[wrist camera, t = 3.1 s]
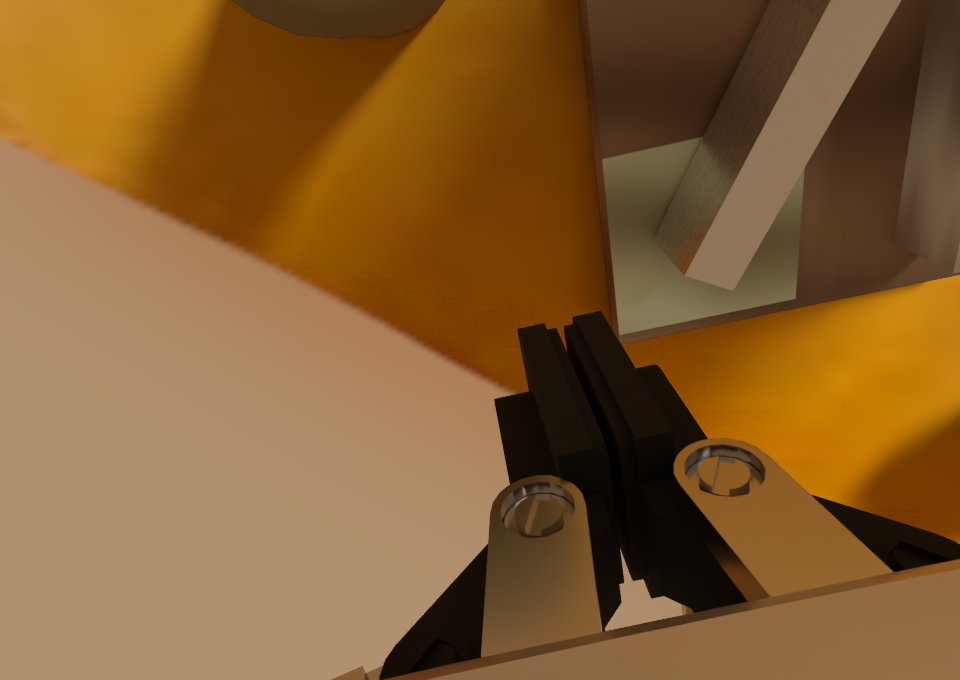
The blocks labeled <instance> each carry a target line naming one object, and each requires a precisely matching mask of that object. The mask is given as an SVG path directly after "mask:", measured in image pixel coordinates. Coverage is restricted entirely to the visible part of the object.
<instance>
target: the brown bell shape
mask: <svg viewBox="0 0 960 680" xmlns="http://www.w3.org/2000/svg"><path fill="white" fill-rule="evenodd" d="M233 1H234V2H235V3H237V4H238V5H239V6H240V7H242V8H243V9H244V10H245V11H246V12H248V13H249V14H250V15H251V16H253V17H256V18H258V19H260V20H263V21H265V22H267V23H270V24H272V25H275V26H277V27H279V28H282V29H284V30H287V31H289V32H291V33H294V34H296V35H302V36H315V37H329V38H342V39H344V38H347V37H351V36H366V37H380V38H385V37H389V36H392V35H396V34H399V33H403V32H406V31H410V30H413V29H414V28H415V27H417V26H418V25H420V24H421V23H422V22H424V21H425V20H426V19H428V18H429V17H431V16H432V15H433V14H435V13H436V12H437V11H438V9H439V8H440V7H441V5H442V4H443V2H444V1H445V0H233Z"/></svg>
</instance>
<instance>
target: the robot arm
mask: <svg viewBox="0 0 960 680" xmlns="http://www.w3.org/2000/svg"><path fill="white" fill-rule="evenodd" d="M564 334H565V340H566V347H567V351H566V349H565V347H564V344H563V342H562V340H561V338H560V335H559V333H558V331H557V329H556V328H553V329H548V330H547V329H546V326H545V324H544V323H543V324H538V325H533V326H529V327H524V328H520V329H518V336H519V341H520V347H521V352H522V357H523V362H524V367H525V372H526V378H527V383H528V388H529V392H524V393H520V394H515V395H511V396H506V397H501V398H497V399H494V401H495V407H496V412H497V417H498V423H499V428H500V433H501V439H502V444H503V449H504V455H505V460H506V466H507V471H508V476H509V481H510V485H509V486H508V487H506V488H505V489H504V490H502V491H501V492H500V493H499V495H498V496H497V498H496V499H495V500H494V502H493V505H492V509H491V512H490V526H489V541H488V542H489V543H488V544H487V546H485V548H484V549H483V550H482V551H481V552H480V553H479V554H478V555H477V556H476V557H475V559H474V560H473V561H472V562H471V563H470V564H469V565H468V566H467V567H466V568H465V570H464V571H463V572H462V573H461V574H460V575H459V576H458V577H457V579H455V581H454V582H453V583H452V584H451V585H450V586H449V587H448V588H447V589H446V590H445V592H444V593H443V594H442V595H441V596H440V597H439V598H438V599H437V600H436V602H435V603H434V604H433V605H432V606H431V607H430V608H429V609H428V610H427V611H426V612H425V614H424V615H423V616H422V617H421V618H420V619H419V620H418V621H417V622H416V623H415V625H414V626H413V627H412V628H411V629H410V630H409V631H408V632H407V633H406V634H405V636H404V637H403V638H402V639H401V640H400V641H399V642H398V643H397V644H396V645H395V647H394V648H393V650H392V651H391V653H390V654H389V655H388V657H387V658H386V660H385V662H384V665H383V666H382V667H379V668H377V669H375V670H372V671H370V672H368V673H366V672H365V670H364V668H363V666H362V667H359V668H357V669H355V670H353V671H350V672H348V673H346V674H344V675H341V676H339V677H337V678H334V679H332V680H960V544H958V543H956V542H955V541H952V540H950V539H947V538H945V537H942V536H940V535H938V534H935V533H932V532H929V531H925V530H922V529H919V528H916V527H913V526H910V525H906V524H903V523H900V522H897V521H894V520H890V519H887V518H884V517H881V516H878V515H874V514H871V513H868V512H865V511H862V510H858V509H855V508H852V507H849V506H846V505H843V504H839V503H836V502H833V501H830V500H827V499H823V498H820V497H817V496H814V495H811V494H809V493H808V492H807V491H806V490H805V489H804V488H803V487H802V486H801V485H800V484H799V483H797V482H796V481H795V480H794V479H793V478H792V477H791V476H790V475H789V474H788V473H787V472H786V471H785V470H783V469H782V468H781V467H780V466H779V465H778V464H777V463H776V462H775V461H774V460H773V459H772V458H771V457H769V456H768V455H767V454H766V453H764V452H763V451H762V450H760V449H759V448H757V447H756V446H753V445H751V444H748V443H746V442H743V441H739V440H734V439H728V438H711V439H708V438H707V437H706V435H705V434H704V432H703V431H702V429H701V428H700V426H699V425H698V423H697V422H696V420H695V419H694V418H693V416H692V415H691V413H690V412H689V410H688V409H687V407H686V406H685V404H684V403H683V401H682V400H681V398H680V397H679V395H678V394H677V392H676V391H675V389H674V388H673V387H672V385H671V384H670V382H669V381H668V379H667V378H666V376H665V375H664V373H663V372H662V370H661V369H660V368H659V367H658V366H657V365H650V366H645V367H641V368H635V367H634V365H633V363H632V362H631V360H630V358H629V357H628V355H627V353H626V352H625V350H624V348H623V347H622V345H621V343H620V342H619V340H618V338H617V337H616V335H615V334H614V332H613V330H612V329H611V327H610V325H609V324H608V322H607V320H606V319H605V317H604V315H603V314H602V312H601V311H598V312H593V313H589V314H584V315H579V316H575V317H573V324H571V325H567V326H564ZM620 549H621V551H622V554H623V557H624V559H625V562H626V565H627V567H628V570H629V573H630V575H631V578H632V579H633V581H636V580H641V579H644V581H645V584H646V586H647V589H648V592H649V594H650V597H651V598H656V597H661V596H665V597H667V598H669V599H672V600H674V601H676V602H678V603H680V604H682V613H683V615H682V616H677V617H672V618H667V619H662V620H657V621H653V622H648V623H643V624H638V625H633V626H629V627H624V628H619V629H614V630H609V631H605V627H606V625H607V624H608V622H609V621H610V619H611V618H612V616H613V615H614V613H615V612H616V610H617V609H618V607H619V606H620V604H621V594H620V587H619V584H621V583H624V578H623V577H624V576H623V569H622V560H621V552H620Z"/></svg>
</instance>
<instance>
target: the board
mask: <svg viewBox="0 0 960 680" xmlns="http://www.w3.org/2000/svg"><path fill="white" fill-rule="evenodd" d="M769 2H770V0H578V4H579V13H580V23H581V33H582V42H583V52H584V62H585V72H586V81H587V91H588V101H589V110H590V120H591V130H592V140H593V149H594V159H595V169H596V179H597V188H598V198H599V208H600V217H601V227H602V237H603V247H604V256H605V266H606V276H607V285H608V295H609V305H610V315H611V324H612V330H613V332H614V334H615V335H616V337H617V338H618V340H619V342H620V343H621V344H625V343H630V342H635V341H640V340H645V339H650V338H654V337H659V336H664V335H669V334H674V333H679V332H684V331H688V330H693V329H698V328H703V327H708V326H713V325H718V324H722V323H727V322H732V321H737V320H742V319H747V318H752V317H756V316H761V315H766V314H771V313H776V312H781V311H786V310H790V309H795V308H800V307H805V306H810V305H815V304H820V303H825V302H829V301H834V300H839V299H844V298H849V297H854V296H859V295H863V294H868V293H873V292H878V291H883V290H888V289H893V288H897V287H902V286H907V285H912V284H917V283H922V282H927V281H931V280H936V279H941V278H946V277H951V276H956V275H960V0H901V2H900V3H899V5H898V7H897V9H896V10H895V12H894V14H893V16H892V17H891V19H890V21H889V22H888V24H887V26H886V28H885V29H884V31H883V33H882V35H881V36H880V38H879V40H878V42H877V43H876V45H875V47H874V48H873V50H872V52H871V54H870V55H869V57H868V59H867V61H866V62H865V64H864V66H863V67H862V69H861V71H860V73H859V74H858V76H857V78H856V80H855V81H854V83H853V85H852V86H851V88H850V90H849V92H848V93H847V95H846V97H845V99H844V100H843V102H842V104H841V105H840V107H839V109H838V111H837V112H836V114H835V116H834V118H833V119H832V121H831V123H830V124H829V126H828V128H827V130H826V131H825V133H824V135H823V137H822V138H821V140H820V142H819V144H818V145H817V147H816V149H815V150H814V152H813V154H812V156H811V157H810V159H809V161H808V163H807V164H806V166H805V168H804V169H803V171H802V173H801V175H800V176H799V178H798V180H797V182H796V183H795V185H794V187H793V188H792V190H791V192H790V194H789V195H788V197H787V199H786V201H785V202H784V204H783V206H782V207H781V209H780V211H779V213H778V214H777V216H776V218H775V220H774V221H773V223H772V225H771V226H770V228H769V230H768V232H767V233H766V235H765V237H764V239H763V240H762V242H761V244H760V245H759V247H758V249H757V251H756V252H755V254H754V256H753V258H752V259H751V261H750V263H749V265H748V266H747V268H746V270H745V271H744V273H743V275H742V277H741V278H740V280H739V282H738V284H737V285H736V287H735V289H734V290H733V291H732V290H729V289H726V288H722V287H719V286H716V285H713V284H710V283H706V282H703V281H700V280H697V279H693V278H690V277H687V276H684V275H683V274H682V272H681V271H680V270H679V269H678V268H677V267H676V266H675V265H674V264H673V263H672V262H671V261H670V259H669V258H668V257H667V256H666V255H665V254H664V253H663V252H662V251H661V250H660V249H659V247H658V246H657V245H656V244H655V243H654V242H653V239H654V237H655V235H656V233H657V231H658V229H659V227H660V225H661V223H662V221H663V219H664V217H665V214H666V212H667V210H668V208H669V206H670V204H671V202H672V200H673V198H674V196H675V194H676V192H677V190H678V188H679V186H680V184H681V182H682V180H683V178H684V176H685V174H686V172H687V170H688V168H689V166H690V164H691V161H692V159H693V157H694V155H695V153H696V151H697V149H698V147H699V145H700V143H701V141H702V139H703V137H704V135H705V133H706V131H707V129H708V127H709V125H710V123H711V121H712V119H713V117H714V115H715V113H716V110H717V108H718V106H719V104H720V102H721V100H722V98H723V96H724V94H725V92H726V90H727V88H728V86H729V84H730V82H731V80H732V78H733V76H734V74H735V72H736V70H737V68H738V66H739V64H740V62H741V60H742V57H743V55H744V53H745V51H746V49H747V47H748V45H749V43H750V41H751V39H752V37H753V35H754V33H755V31H756V29H757V27H758V25H759V23H760V21H761V19H762V17H763V15H764V13H765V11H766V9H767V6H768V4H769Z"/></svg>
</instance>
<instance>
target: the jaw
mask: <svg viewBox="0 0 960 680" xmlns="http://www.w3.org/2000/svg"><path fill="white" fill-rule="evenodd" d="M900 2H901V0H770V2H769V4H768V6H767V9H766V11H765V13H764V15H763V17H762V19H761V21H760V23H759V25H758V27H757V29H756V31H755V33H754V35H753V37H752V39H751V41H750V43H749V45H748V47H747V49H746V51H745V53H744V55H743V57H742V60H741V62H740V64H739V66H738V68H737V70H736V72H735V74H734V76H733V78H732V80H731V82H730V84H729V86H728V88H727V90H726V92H725V94H724V96H723V98H722V100H721V102H720V104H719V106H718V108H717V110H716V113H715V115H714V117H713V119H712V121H711V123H710V125H709V127H708V129H707V131H706V133H705V135H704V137H703V139H702V141H701V143H700V145H699V147H698V149H697V151H696V153H695V155H694V157H693V159H692V161H691V164H690V166H689V168H688V170H687V172H686V174H685V176H684V178H683V180H682V182H681V184H680V186H679V188H678V190H677V192H676V194H675V196H674V198H673V200H672V202H671V204H670V206H669V208H668V210H667V212H666V214H665V217H664V219H663V221H662V223H661V225H660V227H659V229H658V231H657V233H656V235H655V237H654V239H653V242H654V243H655V244H656V245H657V246H658V247H659V249H660V250H661V251H662V252H663V253H664V254H665V255H666V256H667V257H668V258H669V259H670V261H671V262H672V263H673V264H674V265H675V266H676V267H677V268H678V269H679V270H680V271H681V272H682V274H683V275H684V276H687V277H690V278H693V279H697V280H700V281H703V282H706V283H710V284H713V285H716V286H719V287H722V288H726V289H729V290H732V291H733V290H734V289H735V287H736V285H737V284H738V282H739V280H740V278H741V277H742V275H743V273H744V271H745V270H746V268H747V266H748V265H749V263H750V261H751V259H752V258H753V256H754V254H755V252H756V251H757V249H758V247H759V245H760V244H761V242H762V240H763V239H764V237H765V235H766V233H767V232H768V230H769V228H770V226H771V225H772V223H773V221H774V220H775V218H776V216H777V214H778V213H779V211H780V209H781V207H782V206H783V204H784V202H785V201H786V199H787V197H788V195H789V194H790V192H791V190H792V188H793V187H794V185H795V183H796V182H797V180H798V178H799V176H800V175H801V173H802V171H803V169H804V168H805V166H806V164H807V163H808V161H809V159H810V157H811V156H812V154H813V152H814V150H815V149H816V147H817V145H818V144H819V142H820V140H821V138H822V137H823V135H824V133H825V131H826V130H827V128H828V126H829V124H830V123H831V121H832V119H833V118H834V116H835V114H836V112H837V111H838V109H839V107H840V105H841V104H842V102H843V100H844V99H845V97H846V95H847V93H848V92H849V90H850V88H851V86H852V85H853V83H854V81H855V80H856V78H857V76H858V74H859V73H860V71H861V69H862V67H863V66H864V64H865V62H866V61H867V59H868V57H869V55H870V54H871V52H872V50H873V48H874V47H875V45H876V43H877V42H878V40H879V38H880V36H881V35H882V33H883V31H884V29H885V28H886V26H887V24H888V22H889V21H890V19H891V17H892V16H893V14H894V12H895V10H896V9H897V7H898V5H899V3H900Z"/></svg>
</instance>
